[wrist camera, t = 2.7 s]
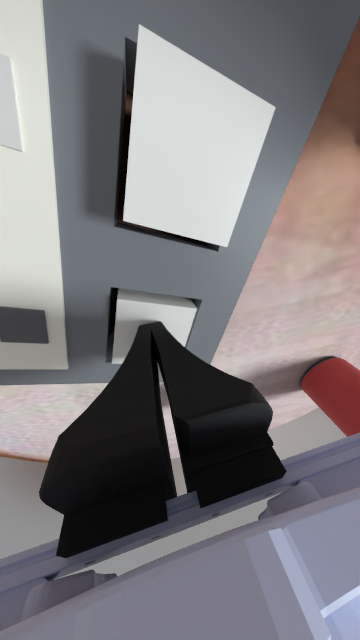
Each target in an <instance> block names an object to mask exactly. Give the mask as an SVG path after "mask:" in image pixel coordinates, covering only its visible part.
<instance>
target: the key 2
mask: <svg viewBox="0 0 360 640" xmlns="http://www.w3.org/2000/svg"><path fill="white" fill-rule="evenodd" d="M196 310H197V308H196V306H195V305H194V303H193V302H192V300H191V299H190V298H187V297H179V296H172V295H165V294H158V293H150V292H143V291H136V290H129V289H122V288H119V290H118V297H117V308H116V320H115V332H114V344H113V356H112V364H122V363H123V361H124V359H125V357H126V356H127V354H128V352H129V350H130V348H131V345H132V343H133V341H134V338H135V336H136V333H137V329H138V327H139V325H144V324H149V323H154V322H159V321H161V322H162V323H163V324H164V326H165V327H166V329H167V330H168V331H169V332H170V333H171V334H172V335H173V336H174V338H175V339H176V340H177V341H178V342H180V343H181V344H182V345H183V346H184V347H185V345H186V341H187V338H188V335H189V332H190V329H191V326H192V323H193V320H194V317H195V313H196Z"/></svg>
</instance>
